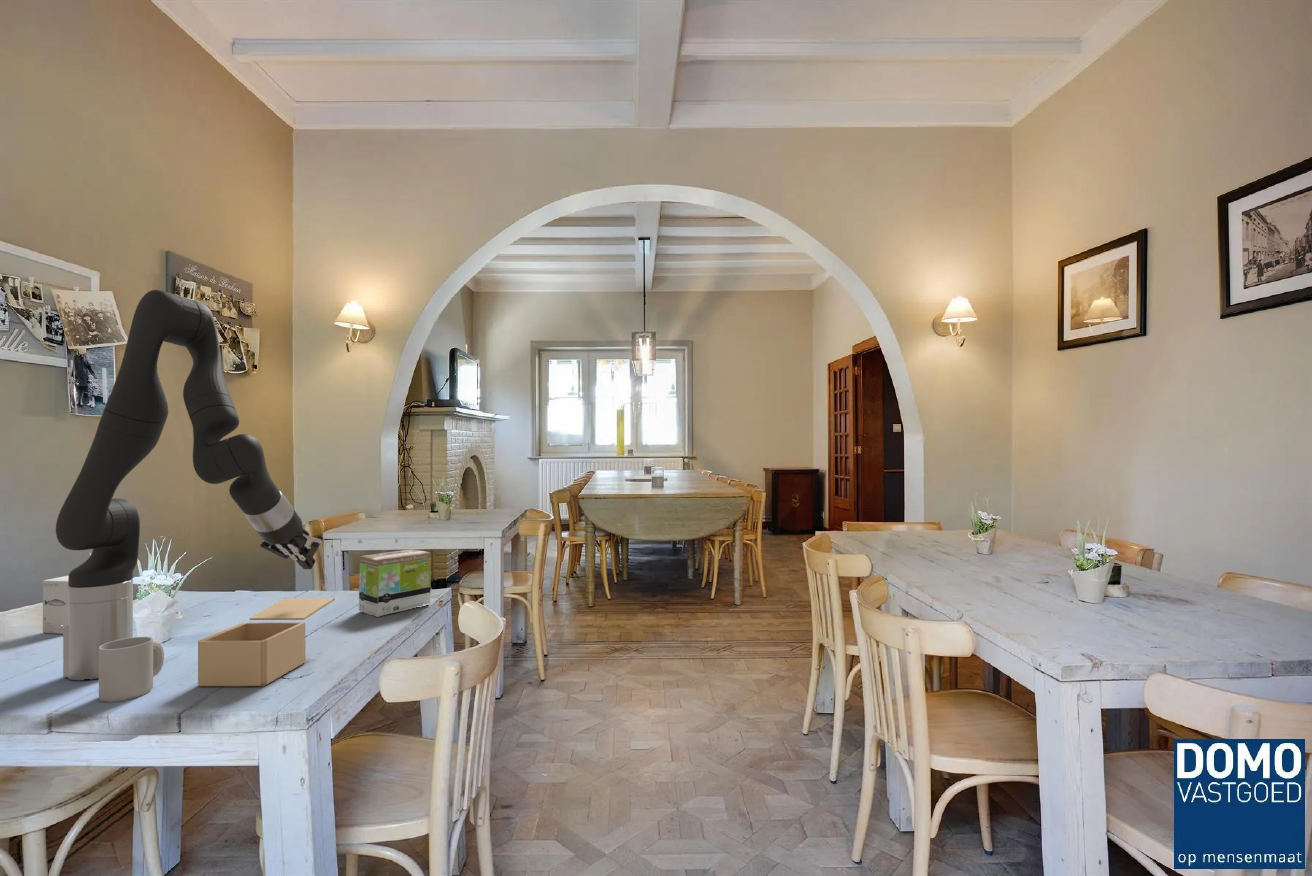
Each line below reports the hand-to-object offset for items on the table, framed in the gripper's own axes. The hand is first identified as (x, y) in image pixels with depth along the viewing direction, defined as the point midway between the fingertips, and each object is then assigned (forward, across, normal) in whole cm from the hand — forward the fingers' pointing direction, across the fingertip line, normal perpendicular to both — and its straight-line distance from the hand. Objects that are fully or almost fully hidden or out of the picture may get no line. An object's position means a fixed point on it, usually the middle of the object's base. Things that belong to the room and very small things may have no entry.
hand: (309, 565), depth 133 cm
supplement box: (+21, +66, +5) cm, 69 cm away
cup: (-6, +16, +30) cm, 35 cm away
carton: (0, 0, +24) cm, 25 cm away
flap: (-2, 0, +14) cm, 14 cm away
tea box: (+33, -5, -9) cm, 35 cm away
